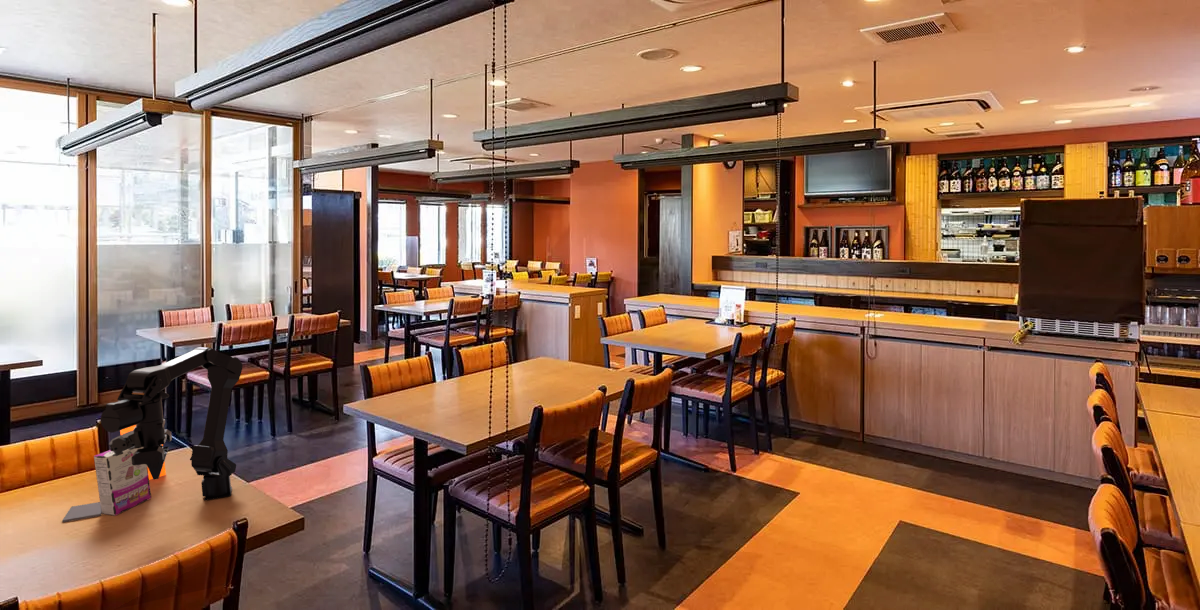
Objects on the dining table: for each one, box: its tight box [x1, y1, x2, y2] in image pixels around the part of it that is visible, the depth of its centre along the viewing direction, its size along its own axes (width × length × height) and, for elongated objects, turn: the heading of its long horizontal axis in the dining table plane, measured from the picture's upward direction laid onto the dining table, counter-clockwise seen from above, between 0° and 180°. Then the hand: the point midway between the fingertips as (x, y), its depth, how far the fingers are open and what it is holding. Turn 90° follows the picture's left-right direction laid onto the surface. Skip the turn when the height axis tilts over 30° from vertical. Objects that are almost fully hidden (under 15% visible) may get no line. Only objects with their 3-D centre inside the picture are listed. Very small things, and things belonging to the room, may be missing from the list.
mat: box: [61, 501, 103, 523], centre depth 177 cm, size 8×9×1 cm
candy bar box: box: [93, 446, 152, 516], centre depth 179 cm, size 11×5×16 cm, turn 167°
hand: (156, 478), depth 168 cm, fingers closed
